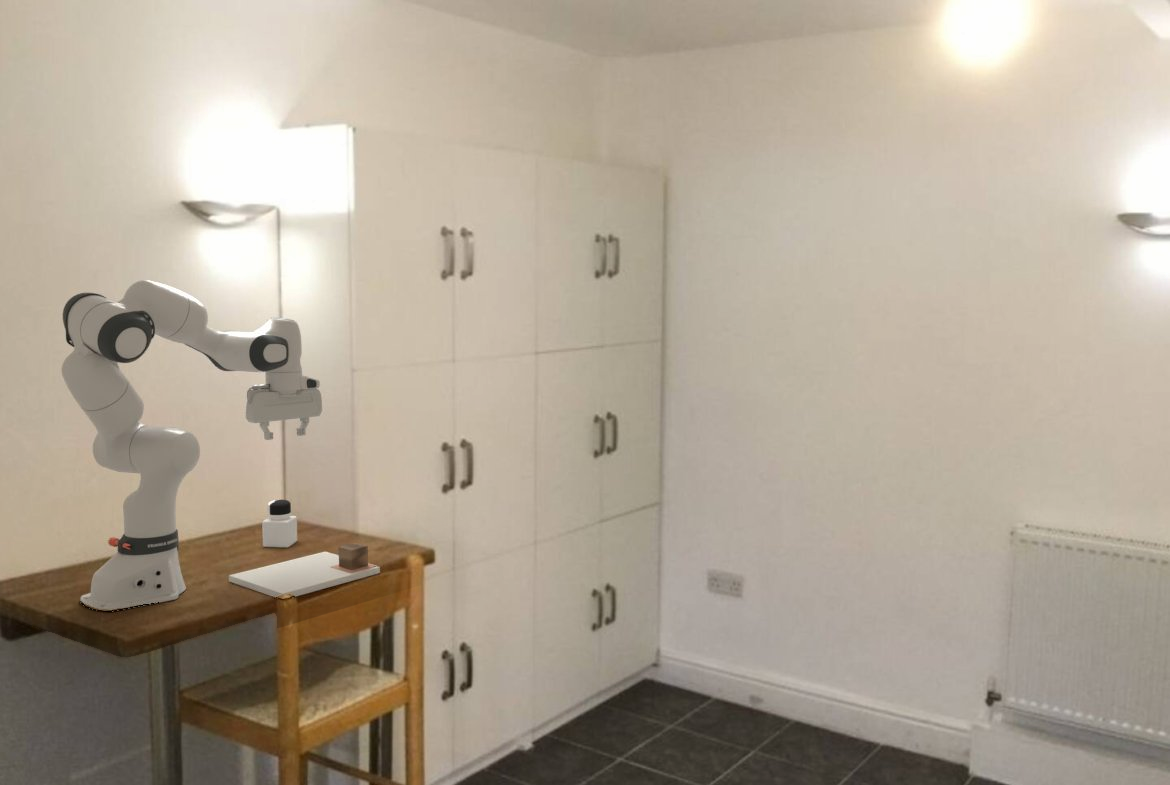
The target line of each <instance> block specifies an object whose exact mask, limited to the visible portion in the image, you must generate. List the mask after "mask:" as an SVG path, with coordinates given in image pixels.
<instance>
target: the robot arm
mask: <svg viewBox="0 0 1170 785" xmlns="http://www.w3.org/2000/svg"><path fill="white" fill-rule="evenodd" d="M208 316H209V313H208V312H207V308H206V306H205V304H203V303H202V302H201V301H200V300H198V299H197V298H195V297H193V296H192V295H190V294H188V293H186V292H184V291H182V290H180V289H177V288H175V287H173V286H170V285H167V284H164V283H161V282H158V281H157V282H156V281H152V280H147V279H146V280H143V279H142V280H139V281H136V282H134V283H132V284H131V285H130V286H129V287H128V288H127V290H126V291H125V293H124V295H123V298H122V299H120V300H118V301H117V302H116V301H113V300H111V299H109V298H107V297H106V296H105V295H102V294H100V293H95V292H81V293H78V294H75V295H73V296H72V297H70V298H69V299H68V300H67V302H66V303H65V305H64V307H63V310H62V323H63V326H64V330H65V340H66V342H67V344H68V345H69V346H71V347H73V350H72V352H71V353H70V354H69V355H67V357H66V358H65V359H64V361H63V362H62V366H61V376H62V377H63V379H64V383H65V385H66V386H67V389H68V390H69V392H70V394H71V396H72V397H73V399H74V400H75V402H77V404H78V406H79V407H80V409H82V411H83V412H84V414H85V415H86V416H87V417H88V419H89V420H90V422H91V423H92V424H93V426H94V427H95V429H96V430H97V434H96V436H95V437H94V439H93V444H92V454H93V458H94V460H95V462H96V463H97V464H98V465H99V466H101V467H103V468H106V469H108V470H111V471H116V472H119V473H129V474H140V480H139V481H140V482H139V486H138V487H137V489H136V490H135V491H133V492H131V493H130V494H129V495H128V496H127V497H125V499H124V501H123V504H122V509H123V510H122V511H123V513H122V514H123V530H124V531H123V532H124V533H123V534H122V536H121V538H120V539H119V537H118V538H116V537H114V536H112V537H111V536H110V538H108V540H107V543H108V545H109V546H111V547H114V548H117V550H116V551H117V552H116V553H115V554H114V555H112V556H111V557H110V559H108V560H107V561H106V562H105V563H104V564H103V565H102V566H101V567H99V569H98V570H96V571H95V572H94V573H93V575H92V580H91V584H90V592H88V593H85V594H82V595H81V596H80V601H82V602H83V603H84V604H86V605H89V606H91V607H94V608H98V609H108V610H112V609H117V608H125V607H130V606H136V605H143V604H149V605H152V604H151V603H154V604H158V602H159V603H164V602H169V601H173V600H177V599H178V598H179V596H180V595H181V594H183V592H185V590H186V589H187V586H186V584H185V580H184V578H183V574H182V571H181V566H180V561H179V560H180V559H179V553H178V552H179V546H180V545H179V530H178V529H177V527H176V526H177V525H176V519H177V518H176V501H177V494H178V491H179V488H180V485H181V483H182V482H183V480H184V478H185V477H186V476H187V474H190V472H191V471H192V470H194V469H195V467H196V466H197V464H198V462H199V459H200V456H201V447H200V443H199V441H198V439H197V437H196V436H195V434H193V433H192V432H189V431H186V430H183V429H181V428H176V427H170V426H153V425H147V424H144V423H143V422H141V419H142V417H143V414H144V410H145V408H144V406H145V405H144V401H143V399H142V398H141V396H140V394H138V392H137V391H136V389H135V387H133V385H132V384H131V382H130V381H129V379H128V378H127V376H126V375H125V374H124V373H123V371H122V370H121V369H120V367H119V364H129V363H132V362H133V363H134V362H136V361H137V360H139V359H140V358H141V357H142V356H143V355H144V354H145V353H146V351H147V350H148V348H149V347H150V344H152V340H153V339H154V338H155V335H157V336H159V337H161V338H163V339H166V340H168V341H170V342H171V341H172V342H175V343H178V344H183V345H184V346H187V347H189V348H190V349H193V350H195V351H197V352H199V353H201V354H203V355H204V356H205V357H206V358H207V359H208V360H209V361H210V362H211V363H212V364H213V366H215V367H216V368H217V369H219V370H220V371H223V372H245V373H246V372H248V373H264V374H265V376H264V378H265V383H263V384H259V385H258V384H254V385H252V386H251V387H249V389H247V391H246V399H247V401H246V404H245V405H246V406H245V419H246V420H247V422H249V423H252V424H259V427H260V429H261V431H262V432H263V437H264V440H265V441H269V440H274V432H273V431H272V432H271V431H270V429H269V427H270V422H271V423H272V422H279V421H287V420H297V419H299V422H301V423H300V425H299V427H298V428H296V435H297V436H299V437H302V436H305V435H306V429H307V427H308V426H309V423H310V418H313V417H320V415H321V414H322V412H323V401H322V393H321V391H320V389H319V388H320V386H321V384H320V380H319V379H316V378H313V377H309V376H307V375H303V367H302V365H301V364H302V363H301V358H302V353H303V352H302V348H303V347H302V336H301V335H302V334H301V330H300V325H299V324H298V322H297V321H295V320H293V319H290V318H283V317H282V318H281V317H269V318H267V319H266V323H265V324H264V325H262V326H261V327H259V328H258V329H256V330H254V331H252V332H250V331H249V332H248V331H236V330H227V329H225V330H216V329H214V328H212V327H210V326H208V321H209V319H208V318H209V317H208ZM118 363H119V364H118ZM143 606H144V605H143Z"/></svg>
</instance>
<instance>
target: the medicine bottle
mask: <svg viewBox="0 0 1170 785" xmlns="http://www.w3.org/2000/svg"><path fill="white" fill-rule="evenodd" d="M291 505H292V504H291V501H289V500H287V499H274V500H271V501H269V502H267V518H266V519H264V520H263V521H262V522H261V524H262V525H261V527H262V528H261V530H262V531H261V532H262V547H264V548H285V549H287V548H289V547H290V546H292V545H294V544H295V543H296V542H297V541H298V516H296V515H292V506H291Z"/></svg>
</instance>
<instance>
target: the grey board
mask: <svg viewBox="0 0 1170 785" xmlns="http://www.w3.org/2000/svg"><path fill="white" fill-rule="evenodd" d="M380 572H381V567H380V566H378V565H376V564H373V563H369V562H368V566H365V567H361V568H358V569H354V570H350V569H346V568H343V567H340V566H339V554H335V553H331V552H329V551H322V552H317V553H314V554H309V555H305V556H302V557H298V558H293V559H290V560H286V561H282V562H278V563H273V564H269V565H266V566H261V567H257V568H252V569H249V570H245V571H241V572H237V573H233V574H229V575H228V581H229V583H233V584H235V585H238V586H241V587H244V588H247V589H250V590H253V591H254V592H259V593H261V594H264V595H267V596H269V597H274V598H276V597H278V596H281V595H287V594H291V595H294V596H295V597H299V596H303V595H306V594H307V595H308V594H310V593H314V592H317V591H321V590H323V589H327V588H330V587H331V588H332V587H335V586H338V585H339V586H340V585H341V584H345V583H350V582H352V581H355V580H361V579H364V578H367V577H370V576H374V575H378V574H381V573H380ZM295 597H294V598H295ZM276 599H277V598H276Z"/></svg>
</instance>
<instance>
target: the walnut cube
mask: <svg viewBox="0 0 1170 785" xmlns="http://www.w3.org/2000/svg"><path fill="white" fill-rule="evenodd" d="M338 555H339V566H340V567H343V568H346V569H350V570H354V569H358V568H361V567H365V566H368V563H369V550H368V545H367V544H366V545H365V544H362V543H358V542H352V543H351V542H350V543H348V544H344V545H340V546H338Z"/></svg>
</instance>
